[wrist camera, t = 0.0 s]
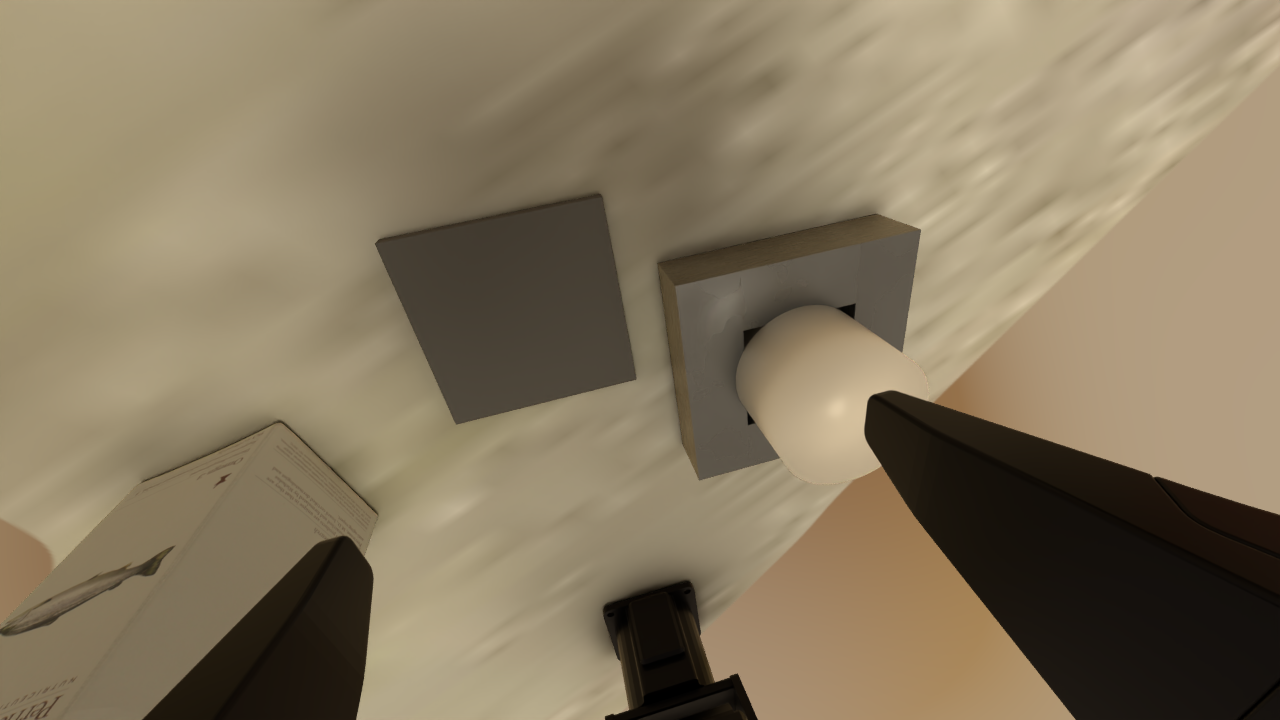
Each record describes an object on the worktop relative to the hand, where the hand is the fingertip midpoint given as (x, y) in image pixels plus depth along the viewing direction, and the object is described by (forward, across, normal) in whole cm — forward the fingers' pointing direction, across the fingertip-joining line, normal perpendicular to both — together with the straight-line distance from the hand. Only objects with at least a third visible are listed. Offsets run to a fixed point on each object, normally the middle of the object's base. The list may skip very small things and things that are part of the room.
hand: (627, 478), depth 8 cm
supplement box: (+15, +17, +9) cm, 24 cm away
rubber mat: (+15, +2, +3) cm, 15 cm away
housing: (+15, -10, +7) cm, 19 cm away
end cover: (+15, -10, +7) cm, 19 cm away
